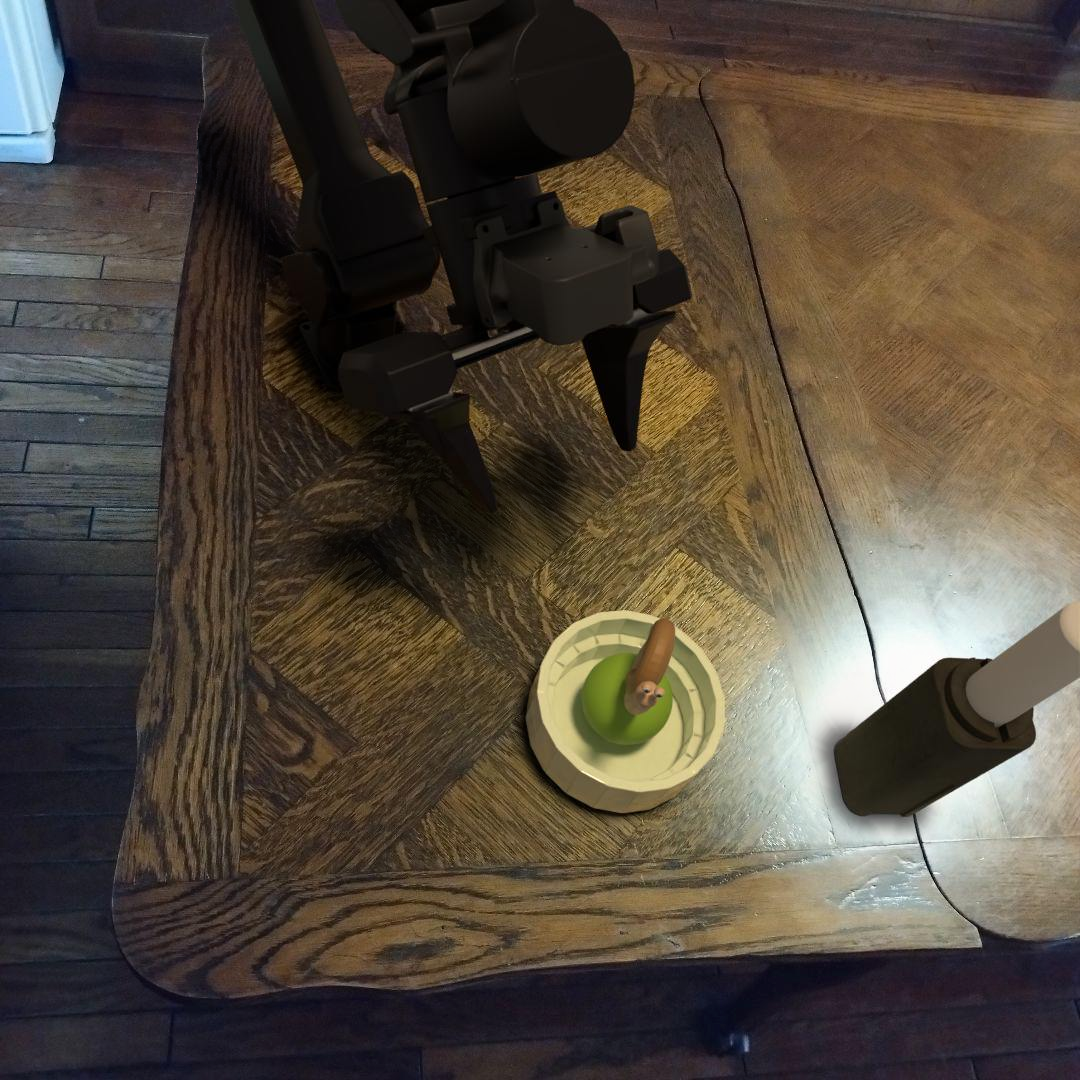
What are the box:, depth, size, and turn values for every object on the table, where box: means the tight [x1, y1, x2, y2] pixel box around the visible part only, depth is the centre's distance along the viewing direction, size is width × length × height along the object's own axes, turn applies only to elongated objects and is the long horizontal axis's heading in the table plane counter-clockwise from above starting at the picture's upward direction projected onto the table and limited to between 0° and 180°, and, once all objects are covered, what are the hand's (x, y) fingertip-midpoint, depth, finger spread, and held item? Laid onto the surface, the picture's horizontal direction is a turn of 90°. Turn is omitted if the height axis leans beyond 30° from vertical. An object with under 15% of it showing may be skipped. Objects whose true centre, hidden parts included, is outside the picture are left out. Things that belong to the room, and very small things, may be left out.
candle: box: [834, 600, 1080, 818], centre depth 52 cm, size 5×5×25 cm
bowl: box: [525, 609, 726, 814], centre depth 60 cm, size 11×11×5 cm
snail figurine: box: [582, 618, 676, 745], centre depth 56 cm, size 5×6×12 cm
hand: (562, 480), depth 54 cm, fingers open, 9 cm apart
